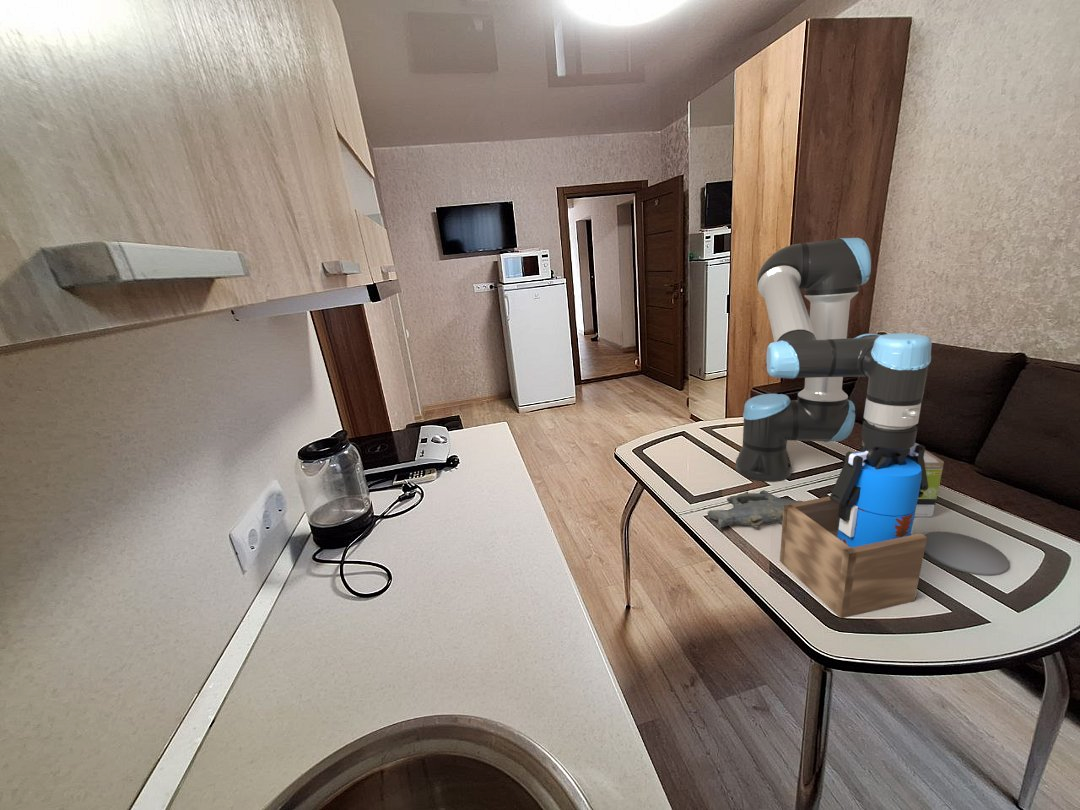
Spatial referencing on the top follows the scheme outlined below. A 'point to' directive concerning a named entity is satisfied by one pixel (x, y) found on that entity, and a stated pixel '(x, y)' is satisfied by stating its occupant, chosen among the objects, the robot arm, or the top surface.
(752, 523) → the stone fish figurine
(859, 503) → the thermos
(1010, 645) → the top surface
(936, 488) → the tea box
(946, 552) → the coaster
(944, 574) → the top surface
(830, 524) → the walnut cubby
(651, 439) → the top surface
